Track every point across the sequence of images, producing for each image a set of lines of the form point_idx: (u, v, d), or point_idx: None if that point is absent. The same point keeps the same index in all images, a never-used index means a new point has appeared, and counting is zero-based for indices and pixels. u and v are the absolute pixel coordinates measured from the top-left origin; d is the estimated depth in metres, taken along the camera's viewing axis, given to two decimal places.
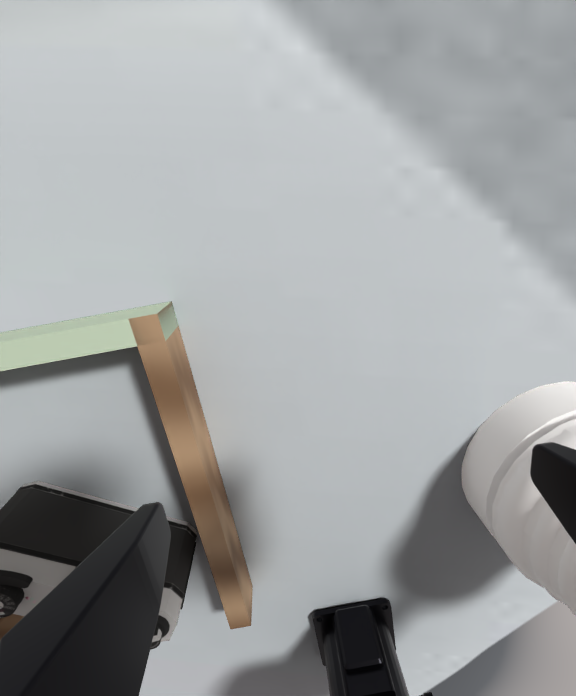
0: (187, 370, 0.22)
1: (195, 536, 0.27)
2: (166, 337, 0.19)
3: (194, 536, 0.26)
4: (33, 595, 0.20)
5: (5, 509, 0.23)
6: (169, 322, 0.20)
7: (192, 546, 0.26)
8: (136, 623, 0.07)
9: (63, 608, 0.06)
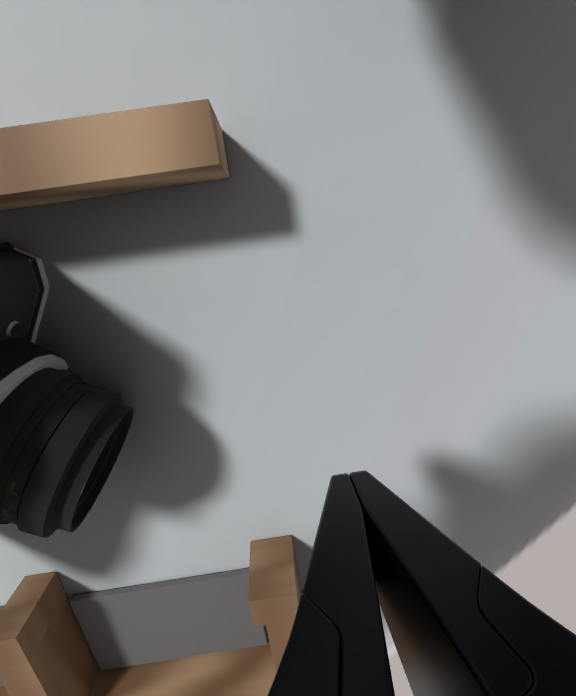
0: None
1: None
2: None
3: None
4: None
5: None
6: None
7: None
8: None
9: (345, 564, 0.06)
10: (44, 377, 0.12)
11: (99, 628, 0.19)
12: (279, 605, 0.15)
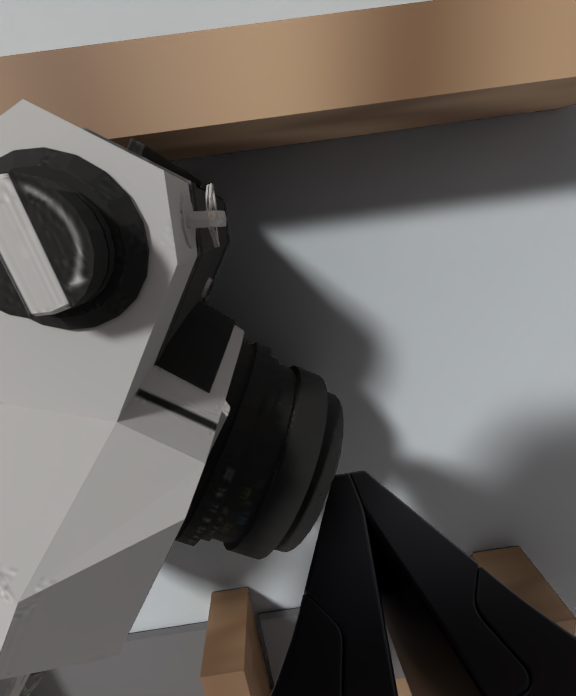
0: None
1: None
2: None
3: None
4: None
5: None
6: None
7: None
8: None
9: (347, 564, 0.06)
10: (254, 350, 0.09)
11: (286, 651, 0.16)
12: None
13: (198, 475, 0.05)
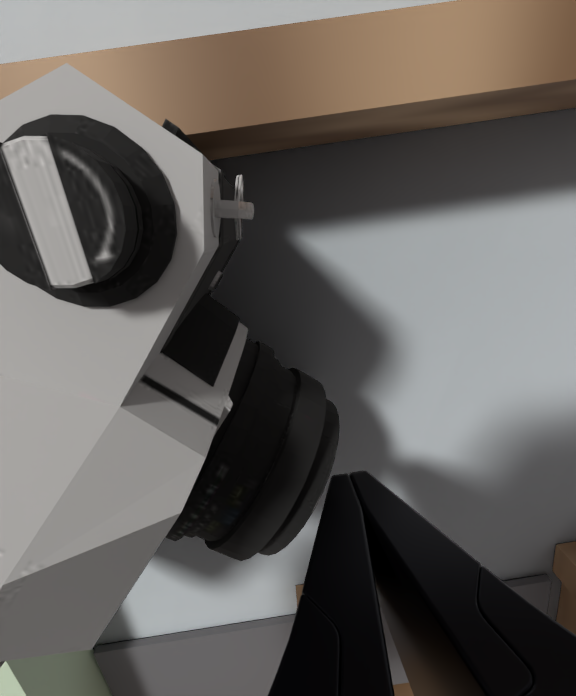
0: None
1: None
2: None
3: None
4: None
5: None
6: None
7: None
8: None
9: (345, 564, 0.06)
10: (257, 348, 0.09)
11: None
12: None
13: (197, 469, 0.05)
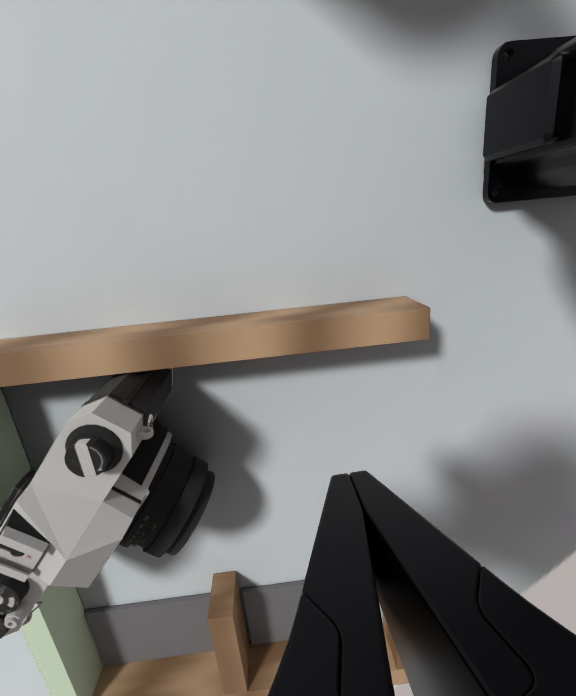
0: (26, 340, 0.18)
1: None
2: None
3: None
4: None
5: None
6: None
7: None
8: None
9: (345, 564, 0.06)
10: (172, 454, 0.18)
11: (258, 613, 0.26)
12: None
13: (129, 523, 0.15)
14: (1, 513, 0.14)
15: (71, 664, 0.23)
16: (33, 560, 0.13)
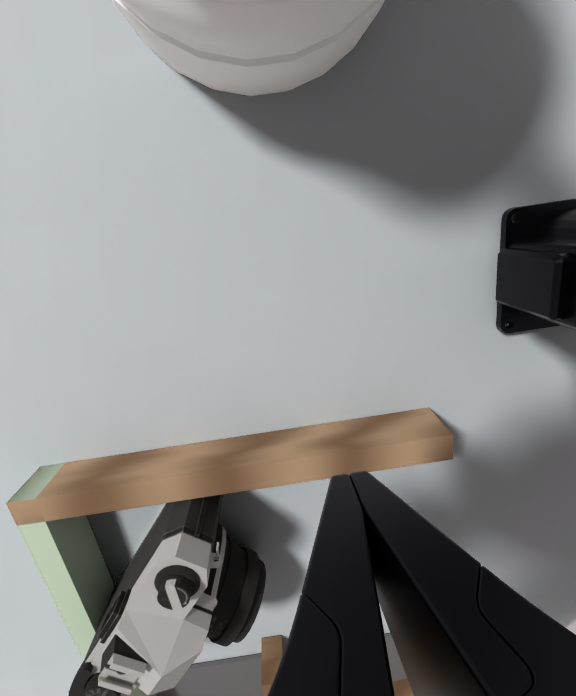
0: (103, 464, 0.21)
1: None
2: (36, 495, 0.19)
3: None
4: None
5: None
6: (40, 481, 0.20)
7: None
8: None
9: (345, 564, 0.06)
10: (229, 555, 0.21)
11: None
12: None
13: (206, 635, 0.18)
14: (102, 631, 0.17)
15: None
16: (134, 676, 0.16)
